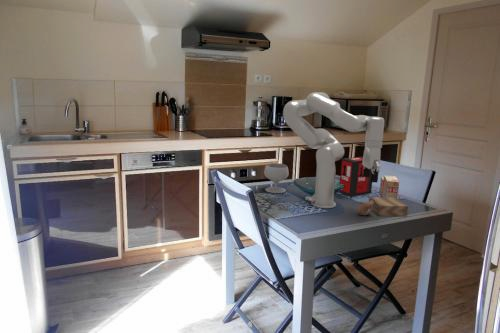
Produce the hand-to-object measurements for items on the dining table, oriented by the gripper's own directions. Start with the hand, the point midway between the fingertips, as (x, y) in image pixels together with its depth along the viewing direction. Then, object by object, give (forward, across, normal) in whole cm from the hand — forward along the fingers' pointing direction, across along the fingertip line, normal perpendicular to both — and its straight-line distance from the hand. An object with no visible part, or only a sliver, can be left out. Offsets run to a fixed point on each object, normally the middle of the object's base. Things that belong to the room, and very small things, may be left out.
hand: (370, 179), depth 181 cm
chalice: (+18, -39, -39) cm, 58 cm away
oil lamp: (+18, 0, 0) cm, 18 cm away
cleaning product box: (+18, -37, +7) cm, 42 cm away
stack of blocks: (+18, -29, +23) cm, 41 cm away
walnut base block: (+18, -6, +13) cm, 23 cm away
